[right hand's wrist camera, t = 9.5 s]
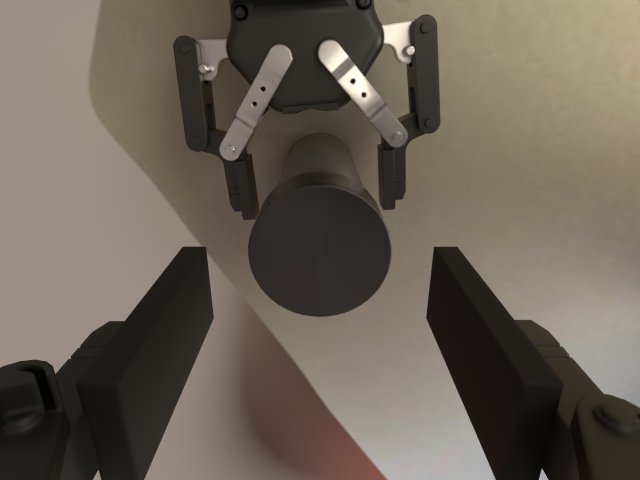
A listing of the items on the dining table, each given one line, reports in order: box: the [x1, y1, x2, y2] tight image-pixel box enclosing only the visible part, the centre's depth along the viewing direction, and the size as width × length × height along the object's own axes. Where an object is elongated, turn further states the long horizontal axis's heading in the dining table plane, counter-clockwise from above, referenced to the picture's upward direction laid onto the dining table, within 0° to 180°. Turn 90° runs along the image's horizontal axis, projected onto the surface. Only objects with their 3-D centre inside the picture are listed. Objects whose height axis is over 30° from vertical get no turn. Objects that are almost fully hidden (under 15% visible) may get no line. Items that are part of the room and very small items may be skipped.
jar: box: [277, 134, 363, 187], centre depth 24 cm, size 5×5×16 cm
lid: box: [248, 171, 392, 317], centre depth 18 cm, size 6×6×2 cm
